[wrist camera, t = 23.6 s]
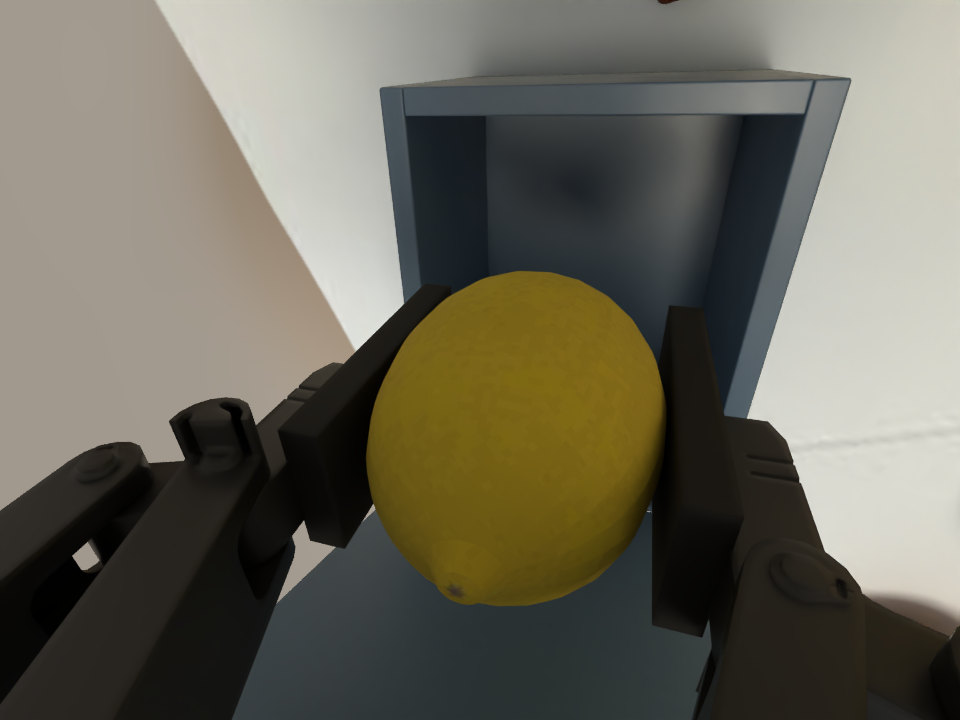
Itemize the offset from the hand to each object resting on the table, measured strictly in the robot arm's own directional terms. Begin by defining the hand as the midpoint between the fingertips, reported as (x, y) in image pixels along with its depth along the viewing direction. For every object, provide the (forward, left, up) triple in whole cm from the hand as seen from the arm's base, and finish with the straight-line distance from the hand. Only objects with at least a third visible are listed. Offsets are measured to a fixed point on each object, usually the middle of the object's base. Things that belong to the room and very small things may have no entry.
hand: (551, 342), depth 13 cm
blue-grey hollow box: (+1, +2, -14) cm, 14 cm away
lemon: (0, 0, 0) cm, 1 cm away
